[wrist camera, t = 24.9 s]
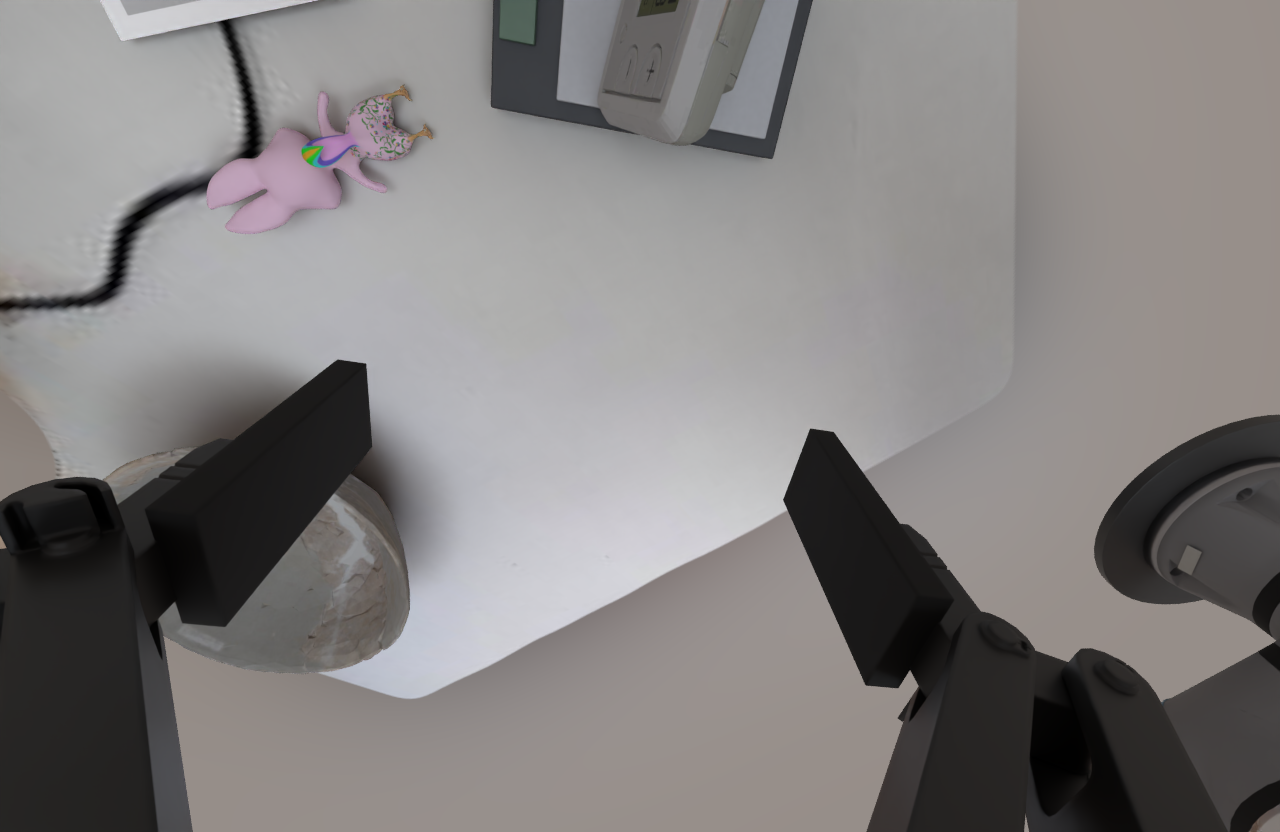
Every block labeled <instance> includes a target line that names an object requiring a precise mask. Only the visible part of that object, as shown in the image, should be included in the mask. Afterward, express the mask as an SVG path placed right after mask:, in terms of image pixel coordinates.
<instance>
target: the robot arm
mask: <svg viewBox="0 0 1280 832" xmlns="http://www.w3.org/2000/svg"><path fill="white" fill-rule="evenodd" d="M371 448H372V438H371V424H370V410H369V396H368V382H367V369H366V364H364V363H358V362H351V361H344V360H336V361H335V362H334V363H332V364H331V365H330V366H329V367H327V368H326V369H325V370H323V371H322V372H321V373H320V374H318V375H317V376H316V377H314V378H313V379H312V380H311V381H309V382H308V383H307V384H305V385H304V386H303V387H301V388H300V389H299V390H298V391H296V392H295V393H294V394H292V395H291V396H290V397H289V398H287V399H286V400H285V401H283V402H282V403H281V404H280V405H278V406H277V407H276V408H274V409H273V410H272V411H270V412H269V413H268V414H267V415H265V416H264V417H263V418H261V419H260V420H259V421H258V422H256V423H255V424H254V425H252V426H251V427H250V428H248V429H247V430H246V431H245V432H243V433H242V434H241V435H239V436H238V437H237V438H236V439H234V440H228V439H218V440H216V441H213V442H211V443H208V444H206V445H203V446H201V447H198V448H196V449H194V450H192V451H191V452H190V453H188V454H187V455H185V456H184V457H183V458H181V459H180V460H179V461H177V462H176V463H175V466H170V467H169V468H168V469H166V470H165V471H163V472H162V473H161V474H159V477H158V478H154V479H152V480H151V481H150V482H148V483H147V484H145V485H144V486H143V487H141V488H140V489H139V490H137V491H136V492H134V493H133V494H132V495H130V496H129V497H127V498H126V499H125V500H123V501H122V502H121V503H119V504H118V505H117V502H116V500H115V497H114V494H113V491H112V489H111V487H110V486H109V484H108V483H107V482H105V481H102V480H99V479H96V478H86V477H72V478H64V479H55V480H51V481H48V482H43V483H40V484H36V485H32V486H30V487H27V488H25V489H22V490H20V491H18V492H15V493H13V494H11V495H9V496H8V497H6V498H5V499H3V500H2V501H1V502H0V536H1V537H2V539H3V541H4V543H5V545H6V547H7V548H5V549H0V832H193V830H192V824H191V817H190V810H189V804H188V797H187V790H186V784H185V778H184V770H183V764H182V757H181V750H180V744H179V737H178V730H177V723H176V717H175V710H174V703H173V697H172V691H171V683H170V677H169V670H168V663H167V657H166V650H165V643H164V637H163V630H162V627H161V625H160V622H159V618H160V617H161V615H162V614H163V613H164V612H165V611H166V610H167V609H168V608H169V607H170V606H171V605H172V604H173V603H174V602H175V603H176V606H177V609H178V612H179V615H180V618H181V621H182V623H184V624H195V625H206V626H217V627H226V626H227V625H228V623H229V622H230V621H231V620H232V618H233V617H234V616H235V615H236V613H237V612H238V611H239V610H240V609H241V607H242V606H243V605H244V604H245V602H246V601H247V600H248V599H249V597H250V596H251V595H252V594H253V593H254V591H255V590H256V589H257V588H258V586H259V585H260V584H261V583H262V582H263V580H264V579H265V578H266V577H267V575H268V574H269V573H270V572H271V570H272V569H273V568H274V567H275V566H276V564H277V563H278V562H279V561H280V559H281V558H282V557H283V556H284V554H285V553H286V552H287V551H288V550H289V548H290V547H291V546H292V545H293V543H294V542H295V541H296V540H297V538H298V537H299V536H300V535H301V534H302V532H303V531H304V530H305V529H306V527H307V526H308V525H309V524H310V523H311V521H312V520H313V519H314V518H315V516H316V515H317V514H318V513H319V511H320V510H321V509H322V508H323V507H324V505H325V504H326V503H327V502H328V500H329V499H330V498H331V497H332V495H333V494H334V493H335V492H336V491H337V489H338V488H339V487H340V486H341V484H342V483H343V482H344V481H345V480H346V478H347V477H348V476H349V475H350V473H351V472H352V471H353V470H354V468H355V467H356V466H357V465H358V464H359V462H360V461H361V460H362V459H363V457H364V456H365V455H366V454H367V452H368V451H369V450H370V449H371ZM783 501H784V503H785V505H786V507H787V510H788V512H789V514H790V516H791V519H792V521H793V523H794V525H795V528H796V530H797V532H798V534H799V537H800V539H801V541H802V543H803V545H804V548H805V550H806V552H807V554H808V556H809V559H810V561H811V563H812V566H813V568H814V570H815V573H816V575H817V577H818V579H819V582H820V584H821V586H822V588H823V591H824V593H825V595H826V597H827V600H828V602H829V604H830V606H831V609H832V611H833V613H834V615H835V617H836V620H837V622H838V624H839V626H840V629H841V631H842V633H843V635H844V637H845V640H846V642H847V644H848V647H849V649H850V651H851V653H852V656H853V658H854V660H855V662H856V665H857V667H858V669H859V671H860V674H861V676H862V678H863V680H864V682H865V685H867V686H878V687H890V688H899V686H900V685H901V683H902V682H903V680H904V678H905V677H906V675H907V674H908V672H909V671H910V670H911V672H912V674H913V676H914V678H915V680H916V681H917V684H918V685H919V687H918V688H917V690H916V691H915V693H914V694H913V696H912V698H911V699H910V700H909V702H908V703H907V705H906V706H905V708H904V709H903V711H902V712H901V714H900V715H899V717H898V719H899V720H901V721H904V722H903V725H902V728H901V731H900V734H899V737H898V740H897V743H896V746H895V749H894V751H893V754H892V757H891V760H890V764H889V766H888V769H887V773H886V775H885V779H884V781H883V784H882V787H881V790H880V793H879V796H878V799H877V802H876V805H875V808H874V811H873V814H872V817H871V820H870V823H869V826H868V829H867V832H1024V825H1025V813H1026V818H1027V823H1028V828H1029V832H1280V458H1276V457H1266V458H1257V459H1251V460H1246V461H1242V462H1239V463H1235V464H1232V465H1229V466H1227V467H1224V468H1222V469H1219V470H1217V471H1215V472H1212V473H1210V474H1208V475H1206V476H1205V477H1203V478H1201V479H1199V480H1198V481H1196V482H1194V483H1193V484H1191V485H1190V486H1188V487H1187V488H1185V489H1184V490H1183V491H1181V492H1180V493H1179V494H1178V495H1176V496H1175V497H1174V498H1173V499H1172V500H1171V501H1170V502H1169V503H1168V504H1167V505H1166V506H1165V507H1164V508H1163V509H1162V510H1161V511H1160V512H1159V514H1158V515H1157V516H1156V518H1155V519H1154V520H1153V522H1152V524H1151V525H1150V527H1149V529H1148V531H1147V534H1146V537H1145V540H1144V547H1143V550H1144V557H1145V559H1146V562H1147V563H1148V565H1149V566H1150V567H1151V568H1152V569H1153V570H1154V571H1155V572H1157V573H1158V574H1159V575H1160V576H1162V577H1163V578H1164V579H1165V580H1167V581H1168V582H1170V583H1172V584H1173V585H1175V586H1177V587H1178V588H1180V589H1182V590H1185V591H1187V592H1189V593H1191V594H1193V595H1196V596H1198V597H1200V598H1202V599H1204V600H1207V601H1209V602H1211V603H1213V604H1216V605H1218V606H1220V607H1222V608H1224V609H1227V610H1229V611H1231V612H1233V613H1235V614H1238V615H1240V616H1242V617H1244V618H1246V619H1248V620H1250V621H1252V622H1253V623H1254V624H1256V625H1257V626H1258V627H1260V628H1261V629H1262V630H1264V631H1265V632H1266V633H1267V634H1269V635H1270V636H1271V637H1273V638H1274V639H1275V640H1276V641H1275V642H1274V643H1272V644H1271V645H1269V646H1267V647H1265V648H1264V649H1262V650H1260V651H1258V652H1259V653H1258V652H1256V653H1255V654H1253V655H1251V656H1249V657H1247V658H1245V659H1243V660H1242V661H1240V662H1238V663H1236V664H1234V665H1232V666H1230V667H1228V668H1227V669H1225V670H1223V671H1221V672H1219V673H1217V674H1216V675H1214V676H1212V677H1210V678H1208V679H1206V680H1204V681H1202V682H1201V683H1199V684H1197V685H1195V686H1194V687H1191V688H1190V689H1188V690H1186V691H1184V692H1182V693H1180V694H1178V695H1176V696H1175V697H1173V698H1170V699H1166V700H1164V701H1163V702H1160V700H1159V698H1158V696H1157V695H1156V693H1155V692H1154V690H1153V689H1152V688H1151V686H1150V685H1149V683H1148V682H1147V681H1146V680H1145V679H1144V678H1142V677H1141V676H1140V675H1139V674H1138V673H1137V672H1136V671H1135V670H1134V669H1133V668H1131V667H1130V666H1129V665H1126V663H1124V662H1123V661H1121V660H1119V659H1117V658H1114V657H1113V656H1111V655H1109V654H1107V653H1105V652H1101V651H1098V650H1094V649H1091V648H1090V649H1080V650H1079V651H1078V652H1077V653H1076V654H1075V655H1074V657H1073V658H1072V659H1071V660H1070V661H1069V662H1066V661H1063V660H1060V659H1057V658H1055V657H1052V656H1049V655H1046V654H1043V653H1040V652H1037V651H1035V649H1034V647H1033V646H1032V644H1031V643H1030V641H1029V640H1028V638H1027V637H1026V636H1024V635H1023V634H1022V633H1021V632H1020V631H1019V630H1018V629H1017V628H1016V627H1014V626H1013V625H1011V624H1010V623H1008V622H1006V621H1005V620H1003V619H1001V618H999V617H997V616H995V615H992V614H990V613H986V612H981V611H980V610H979V608H978V607H977V606H976V604H975V603H974V602H973V601H972V599H971V598H970V596H969V595H968V594H967V593H966V591H965V590H964V589H963V587H962V586H961V585H960V583H959V582H958V581H957V580H956V578H955V577H954V576H953V574H952V573H951V572H950V570H947V566H946V565H945V564H944V562H943V561H942V560H941V559H940V557H937V553H936V552H935V550H934V549H933V548H932V546H931V545H930V544H929V542H928V541H927V540H926V539H925V538H924V537H923V536H921V535H920V534H919V533H918V532H917V531H915V530H914V529H913V528H912V527H910V526H909V525H906V524H900V523H899V522H898V521H897V519H896V518H895V516H894V515H893V514H892V513H891V511H890V509H889V508H888V507H887V505H886V504H885V503H884V501H883V500H882V498H881V497H880V496H879V494H878V493H877V491H876V490H875V489H874V487H873V486H872V484H871V483H870V482H869V480H868V479H867V478H866V476H865V475H864V473H863V472H862V471H861V469H860V468H859V466H858V465H857V464H856V462H855V461H854V459H853V458H852V457H851V455H850V454H849V453H848V451H847V450H846V448H845V447H844V446H843V444H842V443H841V441H840V440H839V439H838V437H837V436H836V435H835V433H834V432H830V431H823V430H816V429H810V430H809V433H808V436H807V438H806V441H805V444H804V446H803V449H802V452H801V454H800V457H799V460H798V462H797V465H796V467H795V470H794V473H793V475H792V478H791V481H790V483H789V486H788V489H787V491H786V494H785V497H784V499H783Z"/></svg>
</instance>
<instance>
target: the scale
mask: <svg viewBox="0 0 1280 832" xmlns="http://www.w3.org/2000/svg"><path fill="white" fill-rule="evenodd" d="M812 1H813V0H765V2H764V5H763V7H762V10H761V13H760V16H759V19H758V21H757V24H756V27H755V30H754V33H753V35H752V38H751V41H750V44H749V47H748V49H747V52H746V55H745V58H744V61H743V64H742V66H741V69H740V72H739V75H738V78H737V80H736V83H735V86H734V88H733V90H731V91H729V92H727V93H724V94H722V96H721V99H720V102H719V105H718V107H717V110H716V113H715V116H714V119H713V121H712V123H711V126H710V128H709V130H708V131H707V133H706V134H705V135H704V136H703V137H702V138H701V139H699V140H698V141H696V142H694V143H691V145H697V146H702V147H707V148H713V149H718V150H724V151H729V152H735V153H740V154H745V155H751V156H756V157H762V158H768V159H772V158H773V156H774V152H775V148H776V144H777V140H778V136H779V132H780V128H781V124H782V120H783V116H784V112H785V108H786V104H787V100H788V96H789V92H790V88H791V84H792V80H793V76H794V72H795V68H796V64H797V60H798V56H799V53H800V49H801V45H802V41H803V37H804V33H805V29H806V25H807V21H808V17H809V13H810V9H811V5H812ZM620 4H621V0H494V2H493V43H492V85H491V107H493V108H497V109H502V110H507V111H512V112H518V113H523V114H529V115H534V116H540V117H545V118H550V119H556V120H561V121H567V122H572V123H577V124H583V125H588V126H594V127H599V128H605V129H610V130H615V131H621V132H626V133H632V134H637V133H634V132H631V131H628V130H625V129H622V128H619V127H616V126H613V125H610V124H609V123H608V122H607V121H606V119H605V117H604V115H603V114H602V112H601V110H600V108H599V105H598V102H597V99H598V92H599V87H600V83H601V79H602V75H603V71H604V67H605V63H606V59H607V55H608V51H609V47H610V43H611V39H612V35H613V31H614V27H615V23H616V19H617V15H618V12H619V8H620ZM637 135H640V134H637Z"/></svg>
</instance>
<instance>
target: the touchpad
mask: <svg viewBox="0 0 1280 832" xmlns="http://www.w3.org/2000/svg"><path fill="white" fill-rule="evenodd" d="M313 1H318V0H100V2H101V4H102V6H103V7H104V9H105V11H106V13H107V15H108V17H109V19H110V21H111V23H112V25H113V26H114V28H115V30H116V32H117V34H118V36H119V38H120V40H121V41H126V40H131V39H136V38H140V37H145V36H150V35H155V34H160V33H164V32H169V31H174V30H179V29H184V28H188V27H193V26H198V25H203V24H207V23H212V22H217V21H222V20H227V19H231V18H236V17H241V16H246V15H251V14H255V13H260V12H265V11H270V10H275V9H279V8H284V7H289V6H294V5H298V4H303V3H308V2H313Z"/></svg>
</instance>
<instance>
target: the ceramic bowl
mask: <svg viewBox="0 0 1280 832" xmlns="http://www.w3.org/2000/svg"><path fill="white" fill-rule="evenodd" d="M196 448H198V447H186V448H175V449H174V450H173V451H170V452H161V453H157V454H152V455H149V456H146V457H144V458H140V459H137V460H134V461H132V462H129V463H126V464H125V465H123V466H121V467H120V468H118V469H116V470H115V471H114V472H112V473H111V474H110V475H109V476H107V477H106V478H105V479H103V480H102V481H105V482H107V483H108V484H109V486H110V487H111V489H112V491H113V494H114V497H115V500H116V502H117V505H118V504H119V503H121V502H122V501H123V500H125V499H126V498H127V497H129V496H130V495H132V494H133V493H134V492H136V491H137V490H139V489H140V488H141V487H143V486H144V485H145V484H147V483H148V482H150V481H151V480H152V479H154V478H158V477H159V474H161V473H162V472H163V471H165V470H166V469H168V468H169V467H170V466H175V463H176V462H177V461H179V460H180V459H181V458H183V457H184V456H185V455H187V454H188V453H190V452H191V451H192V450H194V449H196ZM409 610H410V590H409V580H408V570H407V565H406V560H405V555H404V549H403V545H402V542H401V539H400V536H399V533H398V530H397V528H396V525H395V523H394V519H393V517H392V515H391V513H390V511H389V509H388V508H387V506H386V504H385V503H384V501H383V500H382V498H381V497H380V495H379V494H378V493H377V492H376V491H375V490H373V489H372V488H371V487H369V486H368V485H366V484H365V483H364V482H362V481H361V480H359V479H358V478H356V477H355V476H353V475H352V474H350V475H349V476H348V477H347V478H346V480H345V481H344V482H343V483H342V484H341V486H340V487H339V488H338V489H337V491H336V492H335V493H334V494H333V495H332V497H331V498H330V499H329V500H328V502H327V503H326V504H325V505H324V507H323V508H322V509H321V510H320V511H319V513H318V514H317V515H316V516H315V518H314V519H313V520H312V521H311V523H310V524H309V525H308V526H307V527H306V529H305V530H304V531H303V532H302V534H301V535H300V536H299V537H298V538H297V540H296V541H295V542H294V543H293V545H292V546H291V547H290V548H289V550H288V551H287V552H286V553H285V554H284V556H283V557H282V558H281V559H280V561H279V562H278V563H277V564H276V566H275V567H274V568H273V569H272V570H271V572H270V573H269V574H268V575H267V577H266V578H265V579H264V580H263V582H262V583H261V584H260V585H259V586H258V588H257V589H256V590H255V591H254V593H253V594H252V595H251V596H250V597H249V599H248V600H247V601H246V602H245V604H244V605H243V606H242V607H241V609H240V610H239V611H238V612H237V613H236V615H235V616H234V617H233V618H232V620H231V621H230V622H229V623H228V625H227V626H226V627H217V626H206V625H195V624H184V623H182V621H181V618H180V615H179V612H178V609H177V606H176V603H175V602H174V603H173V604H172V605H171V606H170V607H169V608H168V609H167V610H166V611H165V612H164V613H163V614H162V615H161V617H160V618H159V622H160V625H161V627H162V630H163V636H165V637H167V638H168V639H170V640H172V641H175V642H176V643H178V644H180V645H181V646H183V647H184V648H186V649H188V650H190V651H193V652H195V653H197V654H200V655H202V656H204V657H207V658H209V659H212V660H214V661H217V662H221V663H224V664H228V665H232V666H236V667H240V668H243V669H247V670H254V671H262V672H276V673H294V674H306V673H309V672H314V673H315V672H327V671H334V670H339V669H343V668H346V667H350V666H353V665H355V664H357V663H360V662H362V661H363V660H368V659H371V658H372V657H373V656H374V655H376V654H378V653H379V652H380V651H381V650H382V649H383V650H385V649H387V648H389V647H390V646H391V645H392V644H393V643H394V642H395V641H396V640H397V639H398V638H399V637H400V635H401V633H402V631H403V628H404V626H405V623H406V620H407V618H408V614H409Z"/></svg>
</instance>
